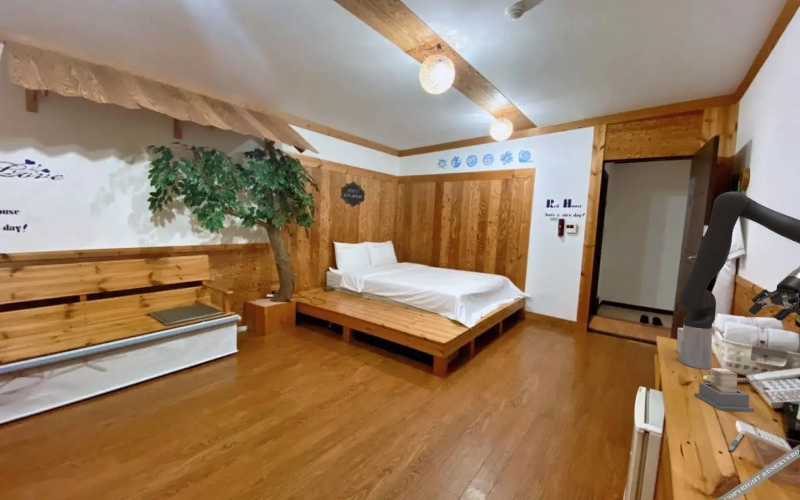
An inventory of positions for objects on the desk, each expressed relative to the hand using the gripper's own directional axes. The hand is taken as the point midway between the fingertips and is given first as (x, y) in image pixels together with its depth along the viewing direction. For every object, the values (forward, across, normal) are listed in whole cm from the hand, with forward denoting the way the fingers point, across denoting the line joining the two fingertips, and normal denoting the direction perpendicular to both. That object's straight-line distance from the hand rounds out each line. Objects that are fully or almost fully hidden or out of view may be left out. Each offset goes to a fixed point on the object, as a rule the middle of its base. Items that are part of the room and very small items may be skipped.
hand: (763, 315), depth 112 cm
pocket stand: (+32, +5, +8) cm, 34 cm away
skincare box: (+15, -43, +26) cm, 52 cm away
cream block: (+32, +5, +8) cm, 33 cm away
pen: (+44, +28, -2) cm, 52 cm away
